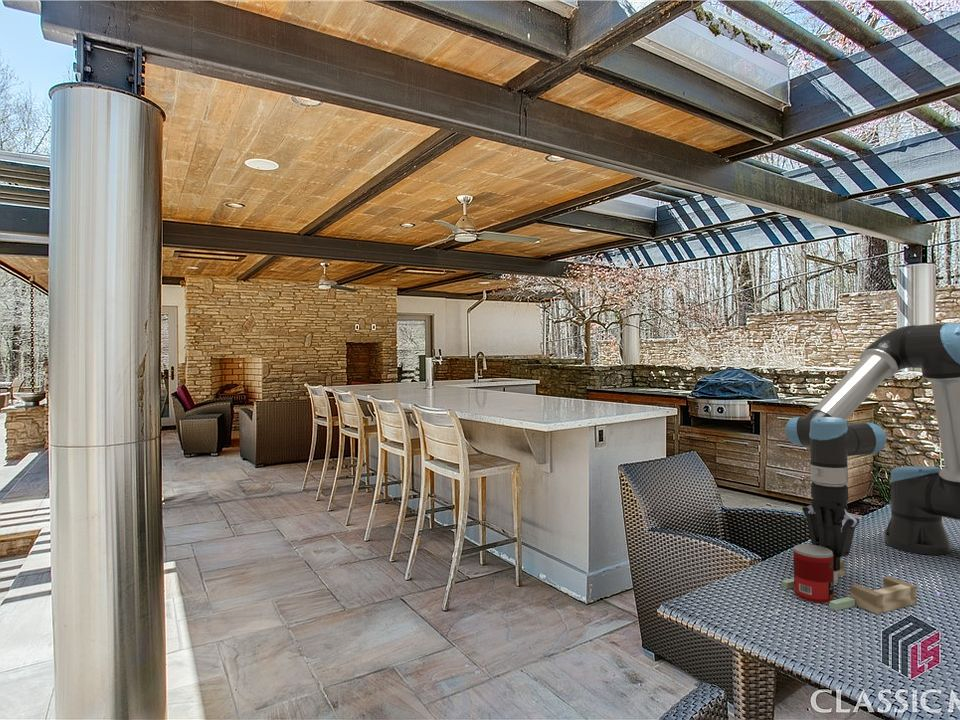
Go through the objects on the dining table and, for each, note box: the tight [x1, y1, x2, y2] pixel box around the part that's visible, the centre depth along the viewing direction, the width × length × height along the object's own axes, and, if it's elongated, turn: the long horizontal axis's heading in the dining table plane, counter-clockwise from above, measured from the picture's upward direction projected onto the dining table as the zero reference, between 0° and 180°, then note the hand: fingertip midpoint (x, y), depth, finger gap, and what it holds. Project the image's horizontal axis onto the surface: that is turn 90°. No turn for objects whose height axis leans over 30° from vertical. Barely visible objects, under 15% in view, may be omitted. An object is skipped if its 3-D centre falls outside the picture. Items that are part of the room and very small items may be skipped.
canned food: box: [793, 543, 835, 604], centre depth 131 cm, size 8×8×11 cm
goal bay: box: [781, 577, 856, 612], centre depth 131 cm, size 6×14×2 cm, turn 20°
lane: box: [838, 559, 918, 615], centre depth 133 cm, size 13×19×4 cm
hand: (830, 582), depth 133 cm, fingers closed
